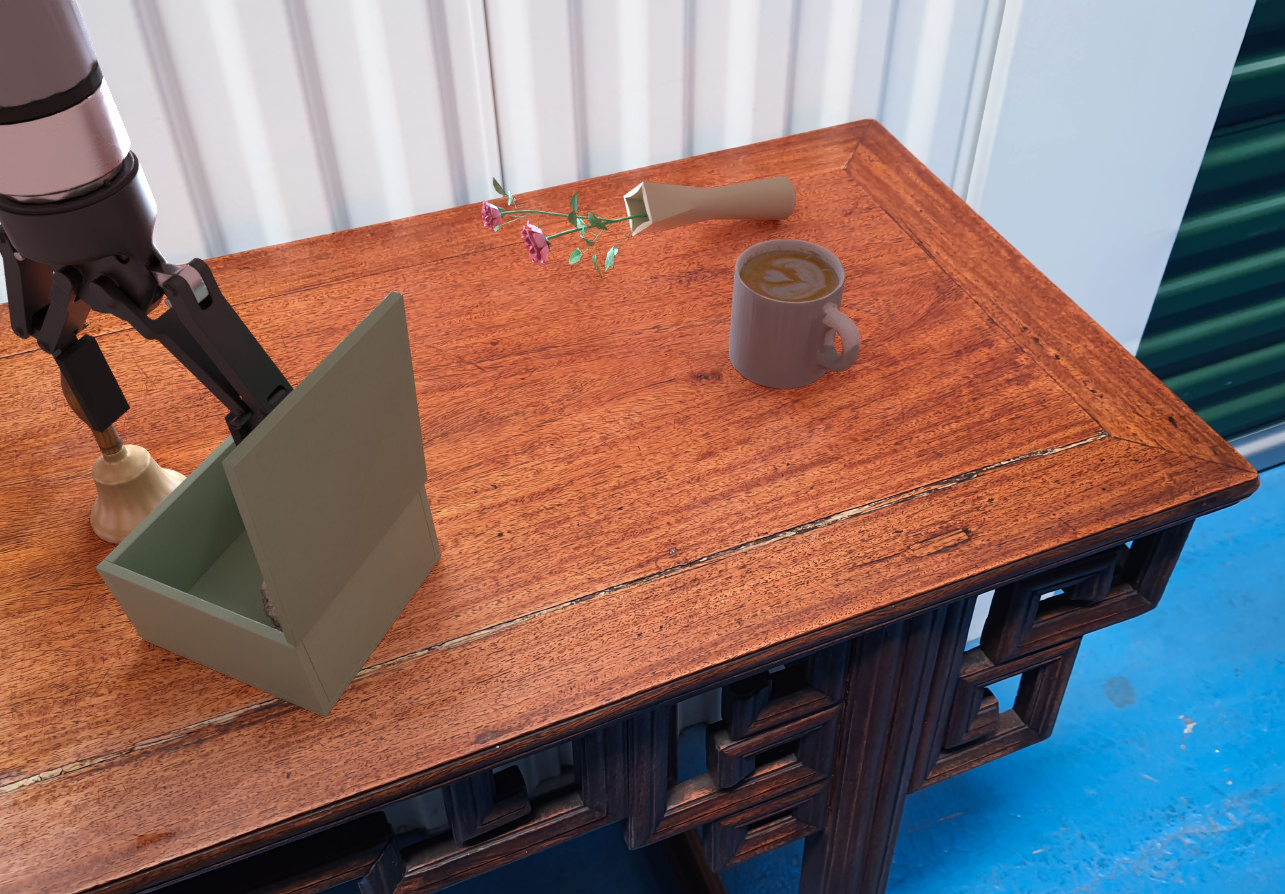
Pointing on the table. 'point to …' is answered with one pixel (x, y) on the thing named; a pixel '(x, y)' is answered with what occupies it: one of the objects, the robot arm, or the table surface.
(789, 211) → the flower vase
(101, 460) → the hand bell
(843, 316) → the coffee mug
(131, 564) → the chest
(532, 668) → the table surface
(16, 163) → the robot arm
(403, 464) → the chest lid
